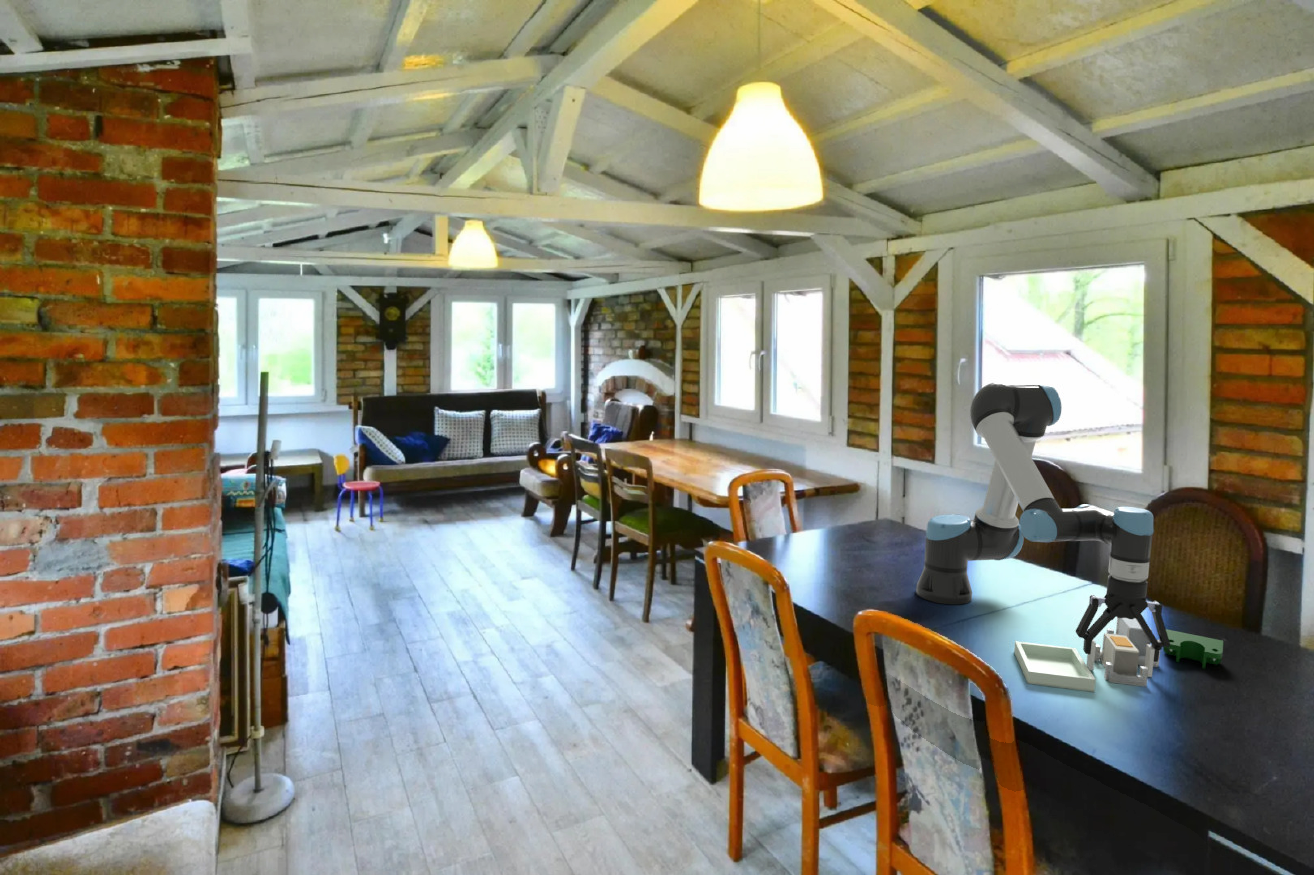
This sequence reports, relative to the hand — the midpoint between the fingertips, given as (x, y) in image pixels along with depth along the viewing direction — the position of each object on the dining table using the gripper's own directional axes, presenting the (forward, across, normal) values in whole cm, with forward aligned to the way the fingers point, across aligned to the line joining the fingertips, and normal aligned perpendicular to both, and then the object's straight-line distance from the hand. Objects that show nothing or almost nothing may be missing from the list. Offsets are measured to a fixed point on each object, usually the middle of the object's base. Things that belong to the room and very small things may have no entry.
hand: (1118, 670), depth 170 cm
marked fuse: (0, 0, 0) cm, 0 cm away
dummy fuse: (0, +6, +12) cm, 14 cm away
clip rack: (0, +3, +6) cm, 7 cm away
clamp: (0, +18, +12) cm, 22 cm away
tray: (0, -14, -4) cm, 15 cm away
